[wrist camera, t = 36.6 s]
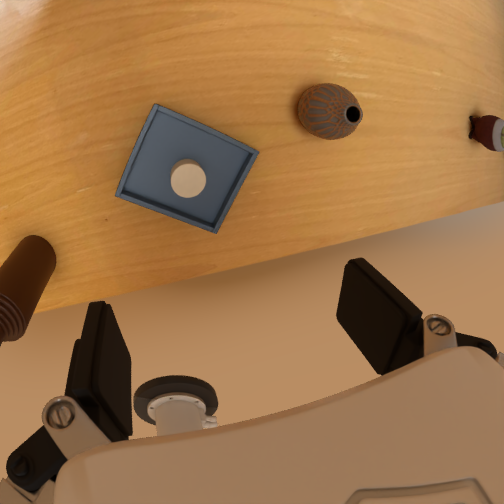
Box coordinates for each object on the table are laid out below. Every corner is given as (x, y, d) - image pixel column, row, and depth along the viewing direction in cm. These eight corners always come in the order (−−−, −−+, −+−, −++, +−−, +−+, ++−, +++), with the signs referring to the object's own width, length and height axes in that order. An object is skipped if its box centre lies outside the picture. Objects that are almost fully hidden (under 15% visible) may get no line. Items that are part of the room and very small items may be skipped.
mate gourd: (485, 129, 43) (541, 148, 30) (471, 153, 45) (529, 177, 32) (474, 102, 39) (535, 118, 27) (460, 127, 41) (524, 147, 28)
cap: (202, 157, 33) (205, 161, 30) (203, 187, 35) (207, 195, 32) (168, 160, 32) (169, 165, 29) (171, 191, 34) (172, 199, 31)
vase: (325, 143, 37) (364, 156, 29) (281, 122, 34) (314, 128, 26) (344, 100, 34) (387, 103, 27) (302, 75, 31) (340, 70, 24)
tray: (254, 149, 34) (259, 151, 33) (213, 227, 38) (216, 234, 36) (155, 103, 29) (154, 103, 27) (117, 191, 32) (114, 196, 30)
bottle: (59, 243, 32) (9, 338, 17) (53, 282, 34) (15, 381, 19) (20, 229, 30) (-46, 313, 14) (16, 269, 32) (-34, 359, 16)
